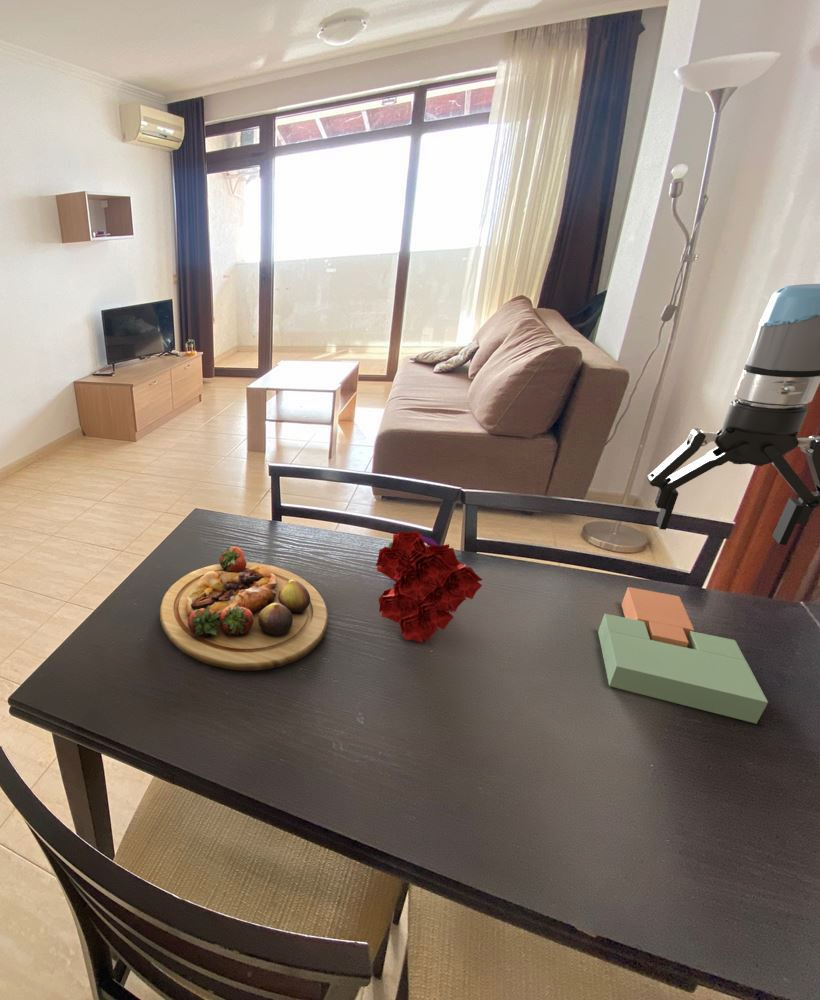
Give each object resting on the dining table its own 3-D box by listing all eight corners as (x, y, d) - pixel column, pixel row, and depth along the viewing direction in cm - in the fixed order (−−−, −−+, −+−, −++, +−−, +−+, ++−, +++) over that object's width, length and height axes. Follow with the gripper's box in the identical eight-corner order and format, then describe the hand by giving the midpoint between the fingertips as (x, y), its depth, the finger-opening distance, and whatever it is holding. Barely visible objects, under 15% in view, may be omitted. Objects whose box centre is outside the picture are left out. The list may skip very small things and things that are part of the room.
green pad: (725, 660, 85) (735, 640, 83) (756, 723, 74) (768, 702, 72) (597, 632, 92) (604, 613, 91) (609, 686, 82) (616, 666, 80)
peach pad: (672, 614, 95) (679, 596, 93) (692, 665, 84) (701, 645, 83) (621, 604, 98) (627, 586, 97) (634, 652, 88) (642, 632, 86)
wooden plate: (180, 564, 123) (178, 533, 119) (326, 576, 114) (329, 542, 110) (140, 661, 95) (135, 623, 92) (328, 686, 86) (331, 645, 83)
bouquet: (434, 584, 119) (477, 651, 90) (355, 579, 123) (372, 641, 94) (443, 498, 114) (491, 539, 86) (361, 495, 118) (380, 534, 90)
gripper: (659, 404, 79) (620, 530, 88) (922, 414, 67) (846, 559, 76) (649, 391, 85) (613, 511, 94) (890, 399, 73) (822, 535, 82)
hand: (717, 533), depth 85 cm, fingers open, 13 cm apart
